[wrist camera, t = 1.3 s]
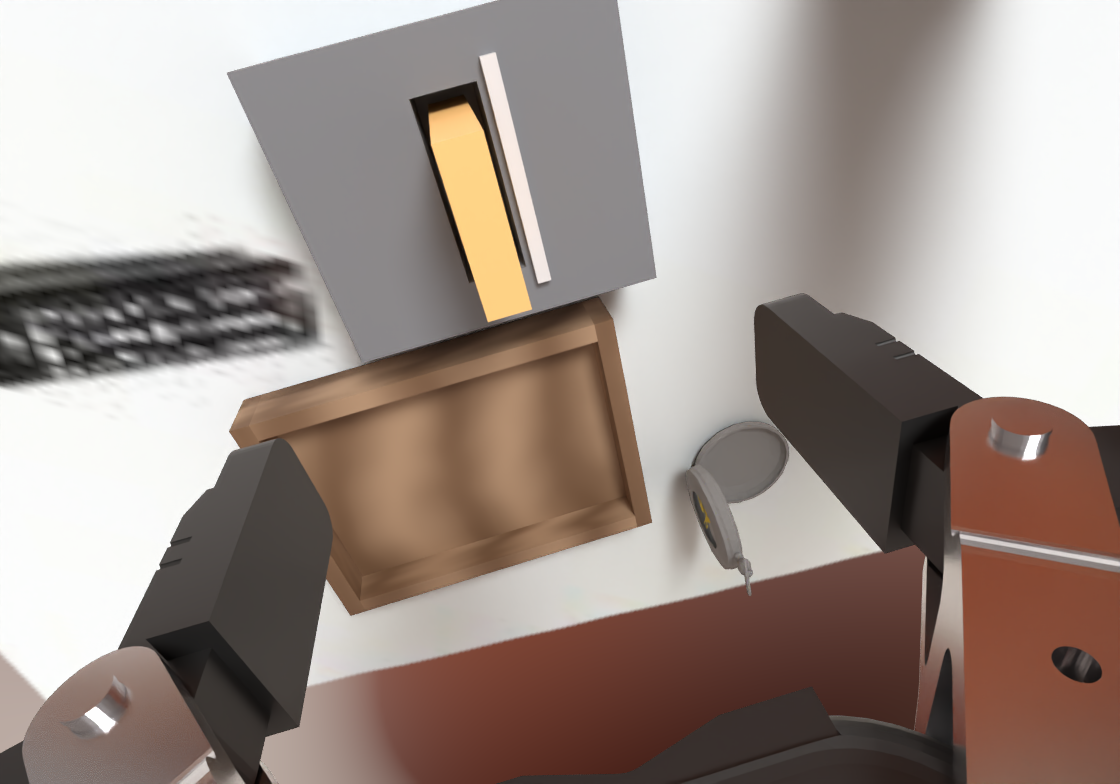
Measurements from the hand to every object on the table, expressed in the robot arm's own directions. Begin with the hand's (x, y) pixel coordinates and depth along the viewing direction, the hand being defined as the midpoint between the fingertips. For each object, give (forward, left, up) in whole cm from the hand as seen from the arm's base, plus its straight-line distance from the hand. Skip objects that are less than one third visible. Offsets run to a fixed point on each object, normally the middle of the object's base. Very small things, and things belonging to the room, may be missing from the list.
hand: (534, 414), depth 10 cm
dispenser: (0, 0, -22) cm, 22 cm away
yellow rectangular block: (0, 0, -21) cm, 21 cm away
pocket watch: (-11, +23, -22) cm, 34 cm away
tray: (+5, +16, -22) cm, 28 cm away
